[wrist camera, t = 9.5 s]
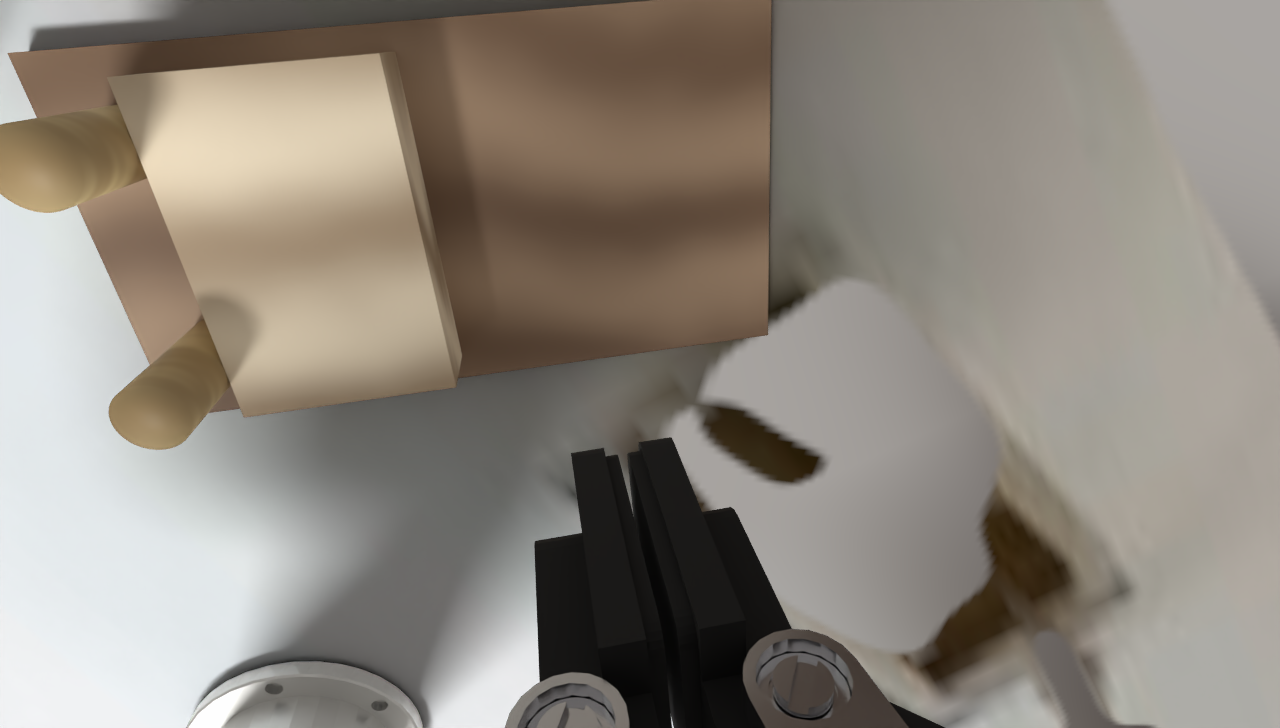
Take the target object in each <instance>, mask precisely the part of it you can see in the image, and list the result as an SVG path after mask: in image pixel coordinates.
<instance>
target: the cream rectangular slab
mask: <svg viewBox="0 0 1280 728" xmlns="http://www.w3.org/2000/svg"><path fill="white" fill-rule="evenodd" d="M107 79H108V82H109V84H110V86H111V89H112V91H113V94H114V96H115V99H116V101H117V104H118V106H119V109H120V111H121V114H122V116H123V119H124V121H125V124H126V126H127V129H128V131H129V134H130V136H131V139H132V141H133V144H134V146H135V148H136V151H137V153H138V156H139V158H140V161H141V163H142V166H143V168H144V171H145V173H146V176H147V178H148V181H149V183H150V186H151V188H152V191H153V193H154V196H155V198H156V201H157V203H158V206H159V208H160V211H161V213H162V216H163V218H164V220H165V223H166V225H167V228H168V230H169V233H170V235H171V238H172V240H173V243H174V245H175V248H176V250H177V253H178V255H179V258H180V260H181V263H182V265H183V268H184V270H185V273H186V275H187V278H188V280H189V283H190V285H191V287H192V290H193V292H194V295H195V297H196V300H197V302H198V305H199V307H200V310H201V312H202V315H203V317H204V320H205V322H206V325H207V327H208V330H209V332H210V335H211V337H212V340H213V342H214V345H215V347H216V350H217V352H218V354H219V357H220V359H221V362H222V364H223V367H224V369H225V372H226V374H227V377H228V379H229V382H230V384H231V387H232V389H233V392H234V394H235V397H236V399H237V402H238V404H239V407H240V409H241V412H242V414H243V417H251V416H258V415H265V414H272V413H279V412H286V411H293V410H300V409H307V408H314V407H321V406H328V405H335V404H343V403H350V402H357V401H364V400H371V399H378V398H385V397H392V396H399V395H406V394H413V393H420V392H427V391H434V390H441V389H449V388H456V386H457V381H458V375H459V370H460V364H461V359H462V352H461V348H460V343H459V339H458V334H457V330H456V325H455V320H454V316H453V311H452V307H451V302H450V298H449V293H448V289H447V284H446V280H445V275H444V270H443V266H442V261H441V257H440V252H439V248H438V243H437V239H436V234H435V230H434V225H433V220H432V216H431V211H430V207H429V202H428V198H427V193H426V189H425V184H424V180H423V175H422V171H421V166H420V161H419V157H418V152H417V148H416V143H415V139H414V134H413V130H412V125H411V121H410V116H409V111H408V107H407V102H406V98H405V93H404V89H403V84H402V80H401V75H400V71H399V66H398V61H397V57H396V52H384V53H372V54H361V55H349V56H338V57H327V58H315V59H304V60H292V61H281V62H269V63H258V64H247V65H235V66H224V67H212V68H201V69H189V70H178V71H167V72H155V73H145V74H135V75H125V76H114V77H107Z"/></svg>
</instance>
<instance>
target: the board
mask: <svg viewBox="0 0 1280 728" xmlns="http://www.w3.org/2000/svg"><path fill="white" fill-rule="evenodd" d="M384 52H396V57H397V61H398V66H399V71H400V75H401V80H402V84H403V89H404V93H405V98H406V102H407V107H408V111H409V116H410V121H411V125H412V130H413V134H414V139H415V143H416V148H417V152H418V157H419V161H420V166H421V171H422V175H423V180H424V184H425V189H426V193H427V198H428V202H429V207H430V211H431V216H432V220H433V225H434V230H435V234H436V239H437V243H438V248H439V252H440V257H441V261H442V266H443V270H444V275H445V280H446V284H447V289H448V293H449V298H450V302H451V307H452V311H453V316H454V320H455V325H456V330H457V334H458V339H459V343H460V348H461V352H462V359H461V364H460V370H459V375H458V378H463V377H470V376H477V375H484V374H492V373H499V372H506V371H513V370H520V369H527V368H535V367H542V366H549V365H556V364H563V363H571V362H578V361H585V360H592V359H599V358H607V357H614V356H621V355H628V354H635V353H642V352H650V351H657V350H664V349H671V348H678V347H686V346H693V345H700V344H707V343H714V342H721V341H729V340H736V339H743V338H750V337H757V336H765V335H768V272H769V178H770V84H771V0H651V1H639V2H627V3H615V4H602V5H590V6H578V7H566V8H554V9H541V10H529V11H517V12H505V13H492V14H480V15H468V16H456V17H443V18H431V19H419V20H407V21H395V22H382V23H370V24H358V25H346V26H333V27H321V28H309V29H297V30H285V31H272V32H260V33H248V34H236V35H223V36H211V37H199V38H187V39H174V40H162V41H150V42H138V43H126V44H113V45H101V46H89V47H77V48H64V49H52V50H40V51H28V52H15V53H8V55H9V57H10V60H11V62H12V64H13V66H14V68H15V70H16V73H17V75H18V77H19V79H20V81H21V84H22V86H23V88H24V90H25V92H26V95H27V97H28V99H29V101H30V103H31V105H32V108H33V110H34V112H35V114H36V116H37V118H35V119H29V120H23V121H17V122H11V123H5V124H2V125H0V194H1V195H3V196H4V197H5V198H7V199H8V200H9V201H11V202H13V203H14V204H16V205H18V206H20V207H23V208H25V209H28V210H32V211H36V212H44V213H52V212H59V211H62V210H65V209H68V208H70V207H73V206H76V205H77V206H78V208H79V211H80V213H81V215H82V217H83V219H84V221H85V224H86V226H87V228H88V230H89V232H90V235H91V237H92V239H93V241H94V243H95V246H96V248H97V250H98V252H99V254H100V257H101V259H102V261H103V263H104V265H105V267H106V270H107V272H108V274H109V276H110V278H111V281H112V283H113V285H114V287H115V289H116V292H117V294H118V296H119V298H120V300H121V302H122V305H123V307H124V309H125V311H126V313H127V316H128V318H129V320H130V322H131V324H132V327H133V329H134V331H135V333H136V335H137V338H138V340H139V342H140V344H141V346H142V348H143V351H144V353H145V355H146V357H147V359H148V362H149V364H150V366H149V367H147V368H146V369H145V370H144V371H143V372H142V373H141V374H140V375H138V376H137V377H136V378H135V379H134V380H133V381H132V382H130V383H129V384H128V385H127V386H126V387H125V388H124V389H123V390H121V391H120V392H119V393H118V394H117V395H116V396H115V397H114V398H113V399H112V401H111V403H110V406H109V417H110V421H111V423H112V425H113V427H114V428H115V430H116V431H117V432H118V433H119V434H120V435H121V436H122V437H123V438H125V439H126V440H128V441H129V442H131V443H133V444H135V445H137V446H140V447H143V448H148V449H155V450H162V449H169V448H173V447H175V446H178V445H180V444H181V443H183V442H184V441H185V440H186V439H187V438H188V436H189V435H190V434H191V433H192V432H193V430H194V429H195V428H196V427H197V426H198V424H199V423H200V422H201V421H202V420H203V418H204V417H205V416H206V415H207V414H208V413H211V412H219V411H226V410H233V409H240V407H239V404H238V402H237V399H236V397H235V394H234V392H233V389H232V387H231V384H230V382H229V379H228V377H227V374H226V372H225V369H224V367H223V364H222V362H221V359H220V357H219V354H218V352H217V350H216V347H215V345H214V342H213V340H212V337H211V335H210V332H209V330H208V327H207V325H206V322H205V320H204V317H203V315H202V312H201V310H200V307H199V305H198V302H197V300H196V297H195V295H194V292H193V290H192V287H191V285H190V283H189V280H188V278H187V275H186V273H185V270H184V268H183V265H182V263H181V260H180V258H179V255H178V253H177V250H176V248H175V245H174V243H173V240H172V238H171V235H170V233H169V230H168V228H167V225H166V223H165V220H164V218H163V216H162V213H161V211H160V208H159V206H158V203H157V201H156V198H155V196H154V193H153V191H152V188H151V186H150V183H149V181H148V178H147V176H146V173H145V171H144V168H143V166H142V163H141V161H140V158H139V156H138V153H137V151H136V148H135V146H134V144H133V141H132V139H131V136H130V134H129V131H128V129H127V126H126V124H125V121H124V119H123V116H122V114H121V111H120V109H119V106H118V104H117V101H116V99H115V96H114V94H113V91H112V89H111V86H110V84H109V82H108V79H107V77H114V76H125V75H135V74H145V73H155V72H167V71H178V70H189V69H201V68H212V67H224V66H235V65H247V64H258V63H269V62H281V61H292V60H304V59H315V58H327V57H338V56H349V55H361V54H372V53H384Z"/></svg>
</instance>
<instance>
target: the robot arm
mask: <svg viewBox="0 0 1280 728" xmlns="http://www.w3.org/2000/svg"><path fill="white" fill-rule="evenodd" d="M571 456H572V463H573V470H574V478H575V485H576V492H577V499H578V506H579V514H580V521H581V528H582V533H579V534H574V535H568V536H562V537H556V538H551V539H545V540H539V541H535V572H536V598H537V623H538V649H539V675H540V683H538V684H536V685H535V686H533V687H532V688H531V689H530V690H529V691H527V692H526V693H525V694H524V695H523V696H521V698H520V699H519V700H518V702H517V703H516V705H515V706H514V708H513V709H512V710H511V712H510V714H509V717H508V720H507V723H506V726H505V728H672V725H671V717H672V721H673V726H674V728H945V727H942V726H940V725H938V724H936V723H934V722H932V721H929V720H927V719H925V718H923V717H921V716H919V715H917V714H914V713H912V712H910V711H908V710H906V709H904V708H902V707H899V706H897V705H895V704H893V703H891V702H889V701H888V700H887V698H886V697H885V696H884V694H883V693H882V692H881V690H880V689H879V688H878V686H877V685H876V684H875V683H874V681H873V680H872V679H871V677H870V676H869V675H868V673H867V672H866V671H865V669H864V668H863V667H862V666H861V664H860V663H859V662H858V660H857V659H856V658H855V657H854V656H853V655H852V654H851V653H850V652H849V651H848V650H847V649H846V648H845V647H844V646H843V645H842V644H840V643H838V642H837V641H835V640H833V639H832V638H830V637H828V636H826V635H823V634H820V633H817V632H814V631H810V630H800V629H792V628H791V626H790V624H789V622H788V620H787V618H786V616H785V614H784V612H783V609H782V607H781V605H780V603H779V601H778V599H777V597H776V595H775V593H774V591H773V589H772V586H771V584H770V582H769V580H768V578H767V576H766V574H765V572H764V570H763V568H762V566H761V564H760V561H759V559H758V557H757V555H756V553H755V551H754V549H753V547H752V545H751V543H750V541H749V538H748V536H747V534H746V532H745V530H744V528H743V526H742V524H741V522H740V520H739V517H738V515H737V514H736V512H735V510H734V509H733V508H731V507H729V508H723V509H717V510H712V511H706V512H702V511H701V508H700V506H699V503H698V501H697V498H696V496H695V494H694V491H693V489H692V486H691V484H690V481H689V479H688V476H687V474H686V471H685V469H684V466H683V464H682V461H681V459H680V456H679V454H678V452H677V449H676V447H675V444H674V442H673V440H672V438H671V437H670V438H663V439H657V440H651V441H644V442H639V451H637V452H631V453H628V467H629V476H630V486H631V495H632V505H633V513H632V509H631V505H630V501H629V497H628V493H627V489H626V485H625V481H624V477H623V473H622V469H621V465H620V461H619V457H618V455H612V456H605V452H604V448H601V449H594V450H588V451H582V452H576V453H571ZM633 515H634V517H633ZM186 728H423V724H422V721H421V718H420V715H419V712H418V710H417V709H416V707H415V706H414V704H413V703H412V701H411V700H410V698H408V697H407V696H406V695H405V694H404V693H403V692H402V691H401V690H400V689H399V688H398V687H396V686H395V685H393V684H391V683H390V682H388V681H386V680H385V679H383V678H381V677H380V676H377V675H375V674H372V673H370V672H367V671H365V670H362V669H359V668H355V667H351V666H347V665H343V664H338V663H329V662H320V661H299V662H287V663H280V664H273V665H268V666H265V667H261V668H258V669H254V670H251V671H247V672H245V673H243V674H240V675H238V676H236V677H234V678H232V679H230V680H227V681H226V682H224V683H223V684H221V685H220V686H219V687H217V688H216V689H214V690H213V691H211V692H210V693H209V694H208V695H207V696H206V697H205V698H204V699H203V700H202V702H201V703H200V704H199V705H198V706H197V708H196V710H195V712H194V714H193V715H192V717H191V719H190V721H189V723H188V725H187V727H186Z"/></svg>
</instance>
